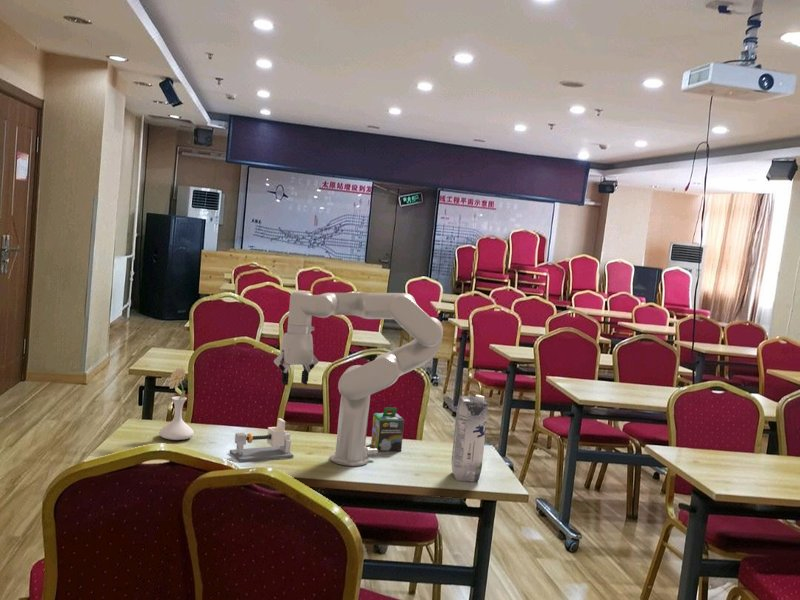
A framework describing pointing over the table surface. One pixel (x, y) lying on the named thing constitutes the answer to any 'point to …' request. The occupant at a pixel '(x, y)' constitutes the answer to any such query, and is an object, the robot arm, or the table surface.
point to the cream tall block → (277, 434)
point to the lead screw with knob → (256, 437)
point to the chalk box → (387, 430)
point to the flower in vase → (177, 411)
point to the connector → (240, 442)
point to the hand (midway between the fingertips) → (294, 383)
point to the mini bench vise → (265, 452)
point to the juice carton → (469, 438)
